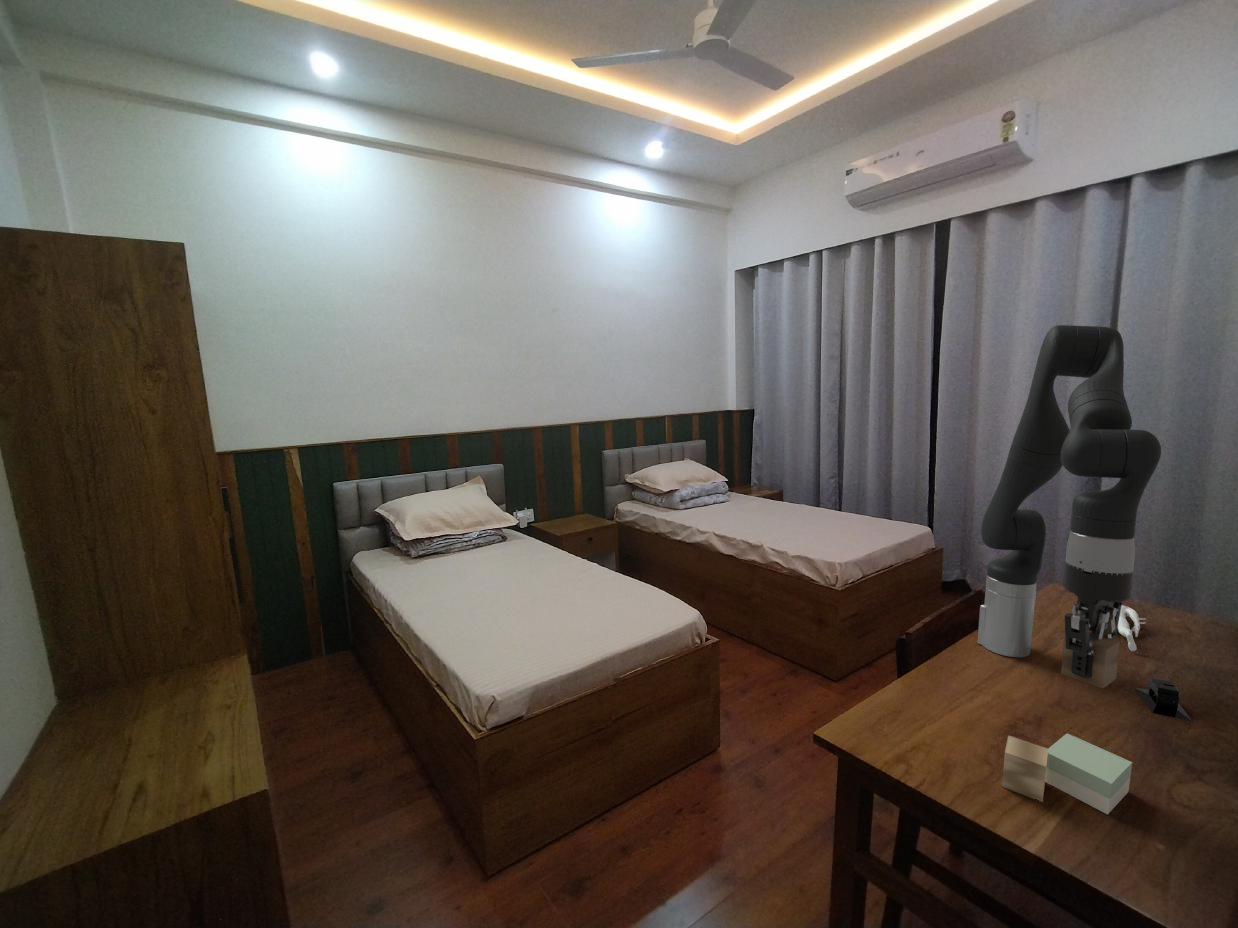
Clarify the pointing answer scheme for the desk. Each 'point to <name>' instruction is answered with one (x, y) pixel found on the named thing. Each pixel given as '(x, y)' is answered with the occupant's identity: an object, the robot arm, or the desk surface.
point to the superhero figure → (1124, 625)
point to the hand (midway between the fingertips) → (1088, 670)
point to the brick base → (1088, 772)
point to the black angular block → (1163, 699)
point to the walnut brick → (1096, 662)
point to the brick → (1025, 768)
